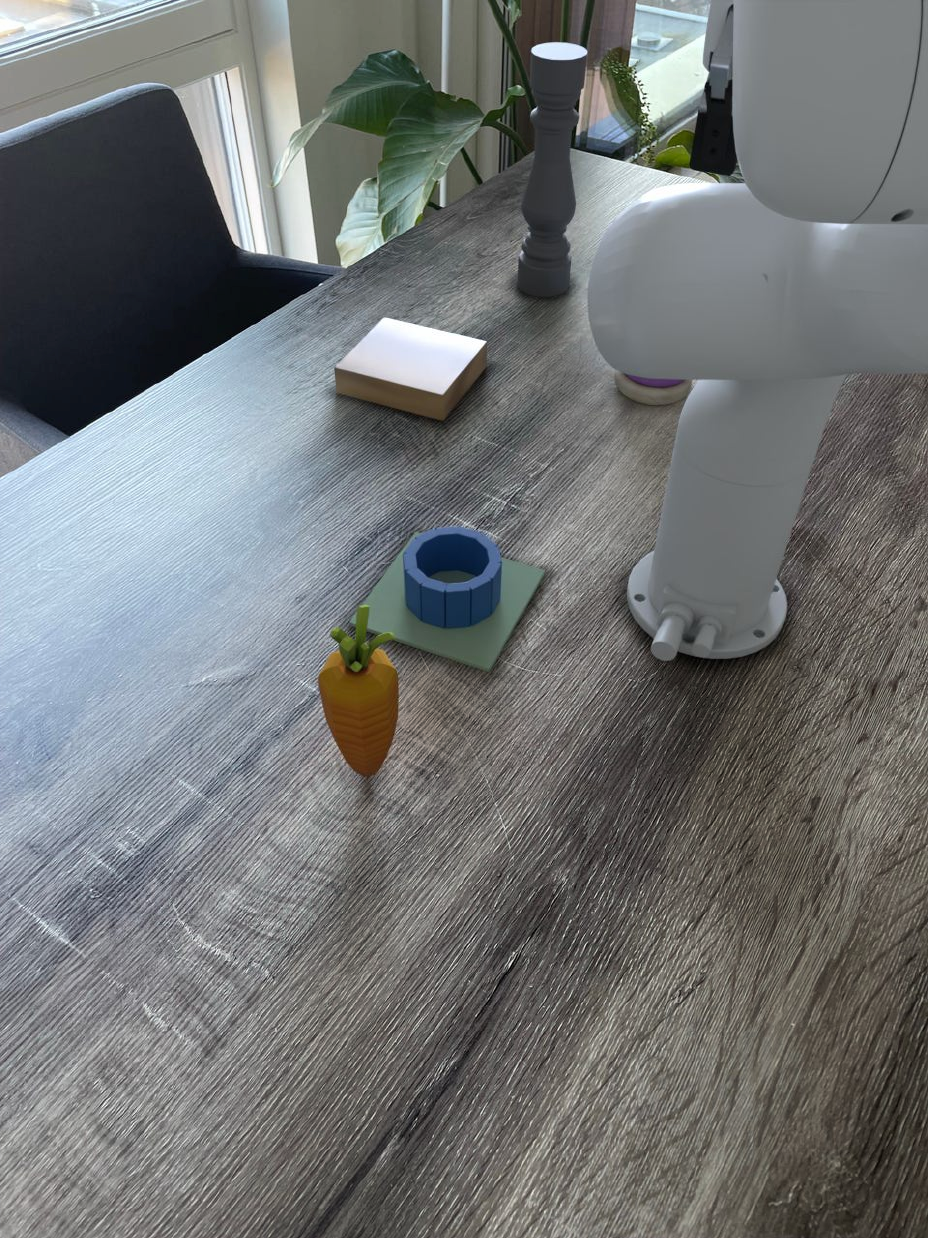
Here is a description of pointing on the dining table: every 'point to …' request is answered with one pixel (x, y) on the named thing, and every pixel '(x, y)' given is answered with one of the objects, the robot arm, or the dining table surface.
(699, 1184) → the dining table surface
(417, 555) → the ring
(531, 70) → the candle holder
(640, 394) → the stacking toy
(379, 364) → the platform
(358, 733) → the carrot
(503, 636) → the mat
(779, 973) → the dining table surface
